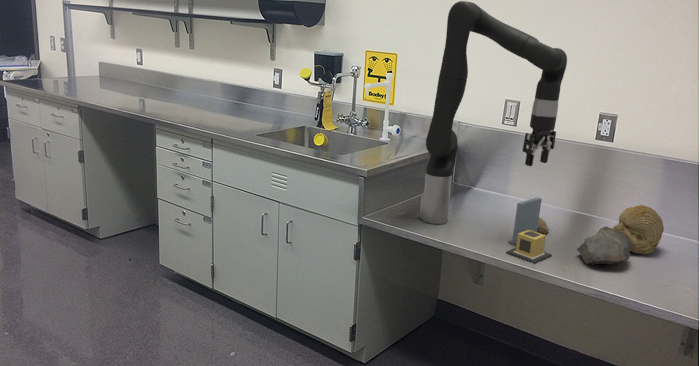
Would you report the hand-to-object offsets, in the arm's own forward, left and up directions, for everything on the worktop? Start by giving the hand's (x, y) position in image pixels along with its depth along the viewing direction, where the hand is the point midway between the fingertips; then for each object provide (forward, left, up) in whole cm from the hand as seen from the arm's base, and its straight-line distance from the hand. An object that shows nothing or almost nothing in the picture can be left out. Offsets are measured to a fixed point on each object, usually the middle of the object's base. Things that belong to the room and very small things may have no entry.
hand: (536, 164), depth 185 cm
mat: (+7, -9, -26) cm, 29 cm away
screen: (0, 0, -26) cm, 26 cm away
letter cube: (+7, -9, -26) cm, 28 cm away
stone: (+24, +5, -27) cm, 36 cm away
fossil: (+25, +25, -27) cm, 44 cm away
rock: (-5, +14, -27) cm, 31 cm away
